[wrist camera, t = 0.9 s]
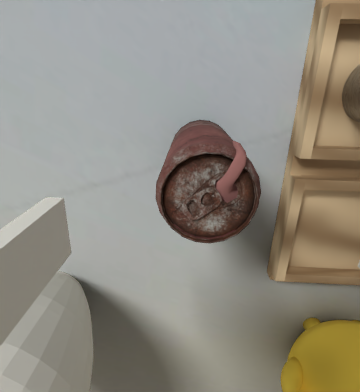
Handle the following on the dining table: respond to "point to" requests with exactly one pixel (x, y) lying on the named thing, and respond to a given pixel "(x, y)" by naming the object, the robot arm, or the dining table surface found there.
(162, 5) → the dining table surface
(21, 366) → the vase
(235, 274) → the dining table surface
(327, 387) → the teapot
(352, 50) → the tray
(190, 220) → the can
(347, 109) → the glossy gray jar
